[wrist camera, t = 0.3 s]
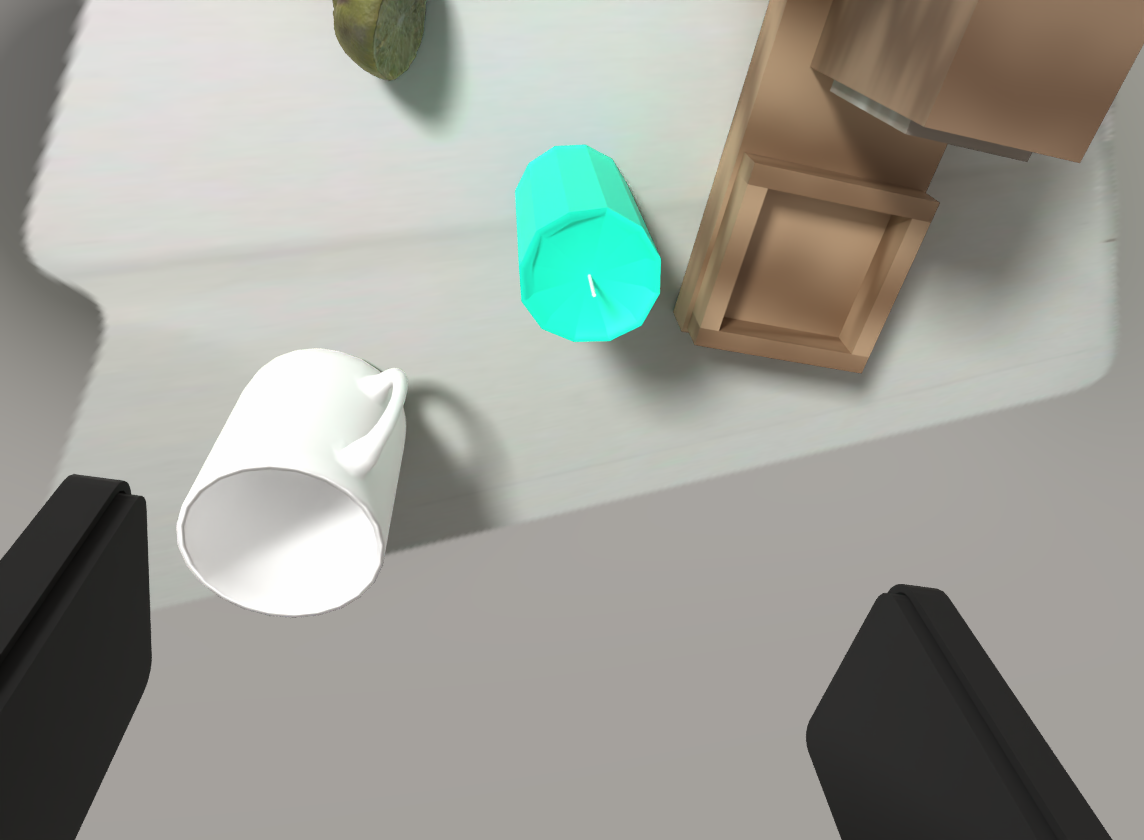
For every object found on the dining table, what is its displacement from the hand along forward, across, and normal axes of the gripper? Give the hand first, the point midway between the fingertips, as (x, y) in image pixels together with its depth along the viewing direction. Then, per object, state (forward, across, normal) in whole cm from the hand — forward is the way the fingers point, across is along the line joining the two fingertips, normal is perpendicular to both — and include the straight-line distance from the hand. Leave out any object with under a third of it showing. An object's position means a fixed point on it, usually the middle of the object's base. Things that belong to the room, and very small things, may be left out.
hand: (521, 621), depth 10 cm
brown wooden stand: (+34, -16, -2) cm, 38 cm away
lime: (+34, +6, -3) cm, 35 cm away
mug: (+35, +7, +18) cm, 40 cm away
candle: (+35, -4, +4) cm, 35 cm away
